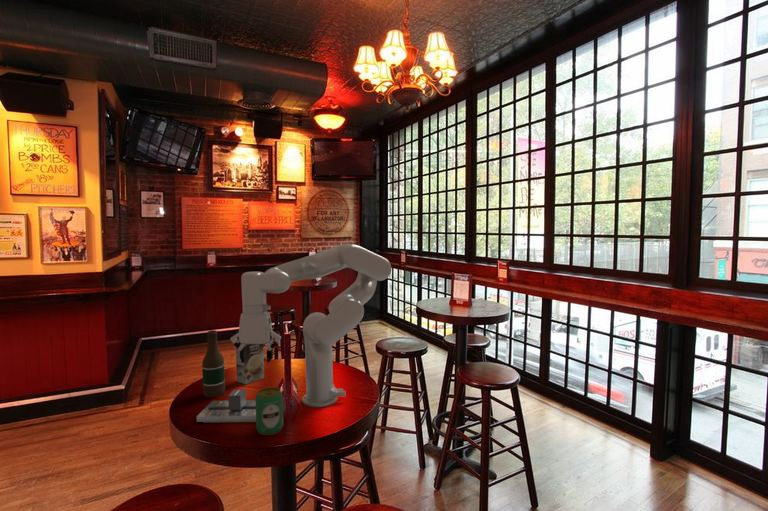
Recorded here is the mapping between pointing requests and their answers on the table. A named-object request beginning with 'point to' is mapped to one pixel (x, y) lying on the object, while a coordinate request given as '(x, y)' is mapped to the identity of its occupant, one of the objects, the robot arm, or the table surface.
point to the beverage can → (269, 411)
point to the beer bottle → (213, 368)
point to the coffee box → (250, 364)
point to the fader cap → (237, 399)
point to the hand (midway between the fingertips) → (256, 361)
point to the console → (228, 412)
